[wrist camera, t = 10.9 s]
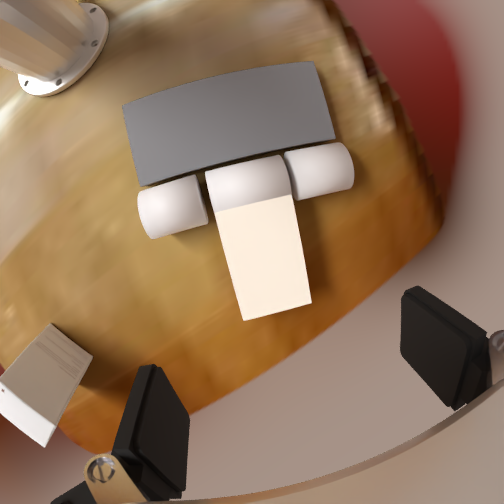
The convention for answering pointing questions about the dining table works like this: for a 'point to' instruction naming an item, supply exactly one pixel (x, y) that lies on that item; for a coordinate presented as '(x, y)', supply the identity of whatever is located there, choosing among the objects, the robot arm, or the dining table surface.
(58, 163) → the dining table surface
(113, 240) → the dining table surface
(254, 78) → the fixed leaf
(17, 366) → the supplement box
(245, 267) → the cream hinge flap
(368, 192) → the dining table surface
